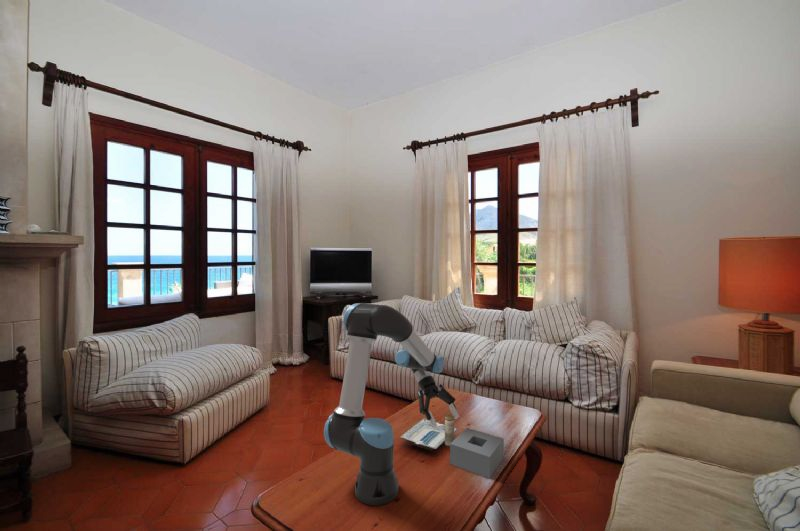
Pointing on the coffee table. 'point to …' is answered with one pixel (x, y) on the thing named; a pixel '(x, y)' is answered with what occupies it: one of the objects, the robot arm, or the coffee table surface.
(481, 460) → the socket block
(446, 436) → the peg
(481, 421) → the coffee table surface
